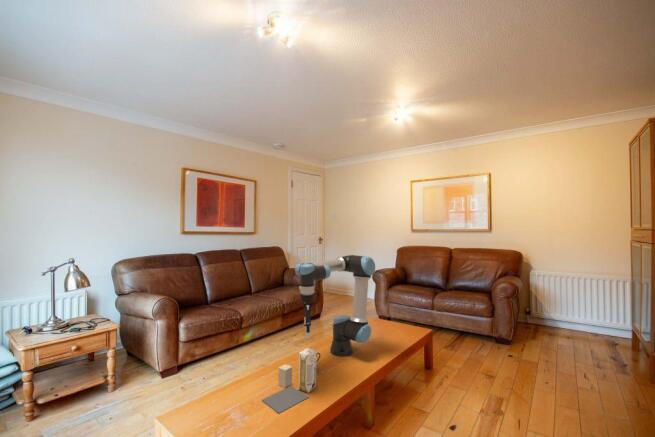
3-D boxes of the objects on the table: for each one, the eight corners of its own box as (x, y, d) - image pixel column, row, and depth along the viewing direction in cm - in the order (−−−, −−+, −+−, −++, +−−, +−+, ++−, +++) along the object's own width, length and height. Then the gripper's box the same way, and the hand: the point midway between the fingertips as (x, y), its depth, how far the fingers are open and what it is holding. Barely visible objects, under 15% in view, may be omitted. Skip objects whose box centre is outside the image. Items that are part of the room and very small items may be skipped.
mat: (291, 386, 156) (291, 385, 156) (309, 397, 146) (309, 396, 146) (261, 400, 143) (261, 399, 143) (278, 413, 133) (278, 412, 133)
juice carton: (317, 386, 156) (318, 349, 157) (308, 394, 149) (309, 355, 149) (306, 382, 160) (306, 346, 160) (296, 389, 153) (296, 352, 153)
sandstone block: (284, 380, 161) (285, 364, 162) (291, 383, 159) (292, 366, 159) (278, 384, 157) (278, 367, 158) (285, 387, 154) (285, 370, 155)
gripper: (299, 288, 171) (299, 325, 171) (300, 299, 146) (300, 343, 146) (312, 288, 172) (312, 324, 172) (316, 299, 147) (316, 342, 147)
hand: (307, 333), depth 159 cm, fingers open, 13 cm apart
